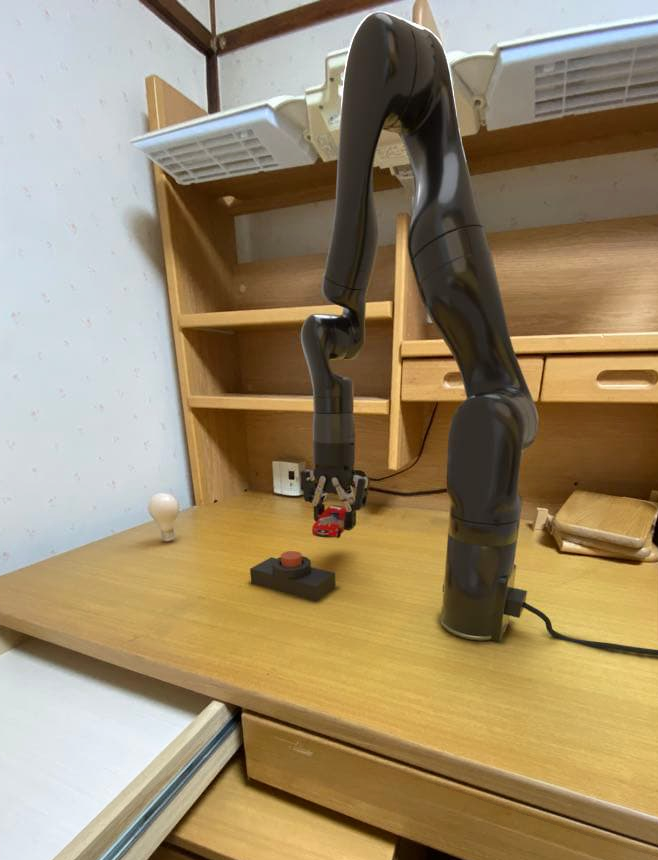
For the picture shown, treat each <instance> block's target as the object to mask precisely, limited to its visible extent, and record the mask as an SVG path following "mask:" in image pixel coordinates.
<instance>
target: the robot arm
mask: <svg viewBox="0 0 658 860" xmlns="http://www.w3.org/2000/svg"><path fill="white" fill-rule="evenodd" d="M343 74H344V75H343V81H342V82H343V83H342V91H341V92H342V93H341V104H340V119H339V137H338V149H337V167H336V187H335V201H334V213H333V221H332V228H331V233H330V234H331V235H330V241H329V246H328V249H327V254H326V260H325V265H324V271H323V276H322V282H321V293H322V295H323V297H324V298H325V299H326V300H327V301H328V302H329V303H332V304H334V305H336V306H339V307H341V308H343V309H342V313H341V314H331V313H328V314H326V313H312V314H310V315H308V316H307V317H306V319H305V320H304V321H303V324H302V326H301V329H300V343H301V348H302V351H303V356H304V358H305V361H306V364H307V369H308V373H309V376H310V377H309V378H310V382H311V386H312V400H313V401H312V402H313V417H312V450H313V452H312V453H313V454H312V455H313V460H312V461H313V464H314V468H313V469H311V468H307V469H305V470H302V471H300V481H301V487H302V493H303V500H304V501H305V502H307V503H308V502H309V503H310V504H312V506H313V520H314V522H316V521H317V520H318V519H319V518H320V517H318V515H320V516H321V514H322V513H323V512H324V511H325V510H326V507H325V506H326V505H325V504H324V503H325V500H326V498H327V496H328V494H333V495H337V496H338V498H339V500H340V502H342V504H343V506H345V509H346V512H345V530H344V531H351V530H353V529H354V527H356V525H357V511H360V510H361V509H363V508H365V507H367V502H368V495H369V489H370V483H371V478H370V476H368V475H365V476H361V475H359V474H356V471H355V463H356V462H355V460H356V459H355V458H356V457H355V456H356V454H355V452H356V424H355V414H354V400H355V399H354V395H355V394H354V391H355V390H354V382H353V380H352V379H351V378H350V377H348V376H345V375H341V374H337V373H335V372H333V370H332V368H331V366H330V361H341V362H342V361H345V362H346V361H352V360H355V359H356V358H357V357H358V356H359V355H360V354H361V353H362V351H363V348H364V346H365V341H366V308H367V307H366V305H367V294H368V290H369V286H370V282H371V278H372V275H373V271H374V267H375V263H376V260H377V254H378V250H379V249H378V248H379V228H378V220H377V213H376V206H375V198H374V181H373V179H374V177H373V176H374V166H375V165H374V163H375V159H376V155H377V154H376V153H377V150H378V149H377V148H378V145H379V142H380V139H381V134H382V133H383V131H385V132H390V133H395V134H397V135H398V136H399V138H400V139H401V141H402V144H403V145H404V146H403V147H404V148H405V151H406V154H407V157H408V160H409V164H410V168H411V172H412V175H413V180H414V182H413V183H414V196H413V201H412V202H413V203H412V208H411V213H410V218H409V224H408V232H407V253H408V258H409V262H410V266H411V269H412V273H413V276H414V280H415V284H416V286H417V290H418V293H419V296H420V299H421V302H422V304H423V307H424V309H425V311H426V312H427V315H428V317H429V318H430V321H431V322H432V324H433V326H434V327H435V329H436V330H437V332H438V334H439V335H440V337H441V338H442V340H443V342H444V343H445V345H446V346H447V348H448V350H449V351H450V353H451V355H452V357H453V359H454V360H455V362H456V365H457V367H458V370H459V373H460V376H461V379H462V384H463V388H464V392H465V396H466V399H465V400H463V401H462V402H461V403H460V404H459V405H458V406H457V408H456V409H455V411H454V414H453V415H452V418H451V421H450V426H449V431H448V440H447V455H446V456H447V457H446V491H447V496H448V498H449V516H448V529H447V541H446V543H447V544H446V552H445V553H446V554H445V566H444V567H445V568H444V579H443V584H442V590H441V591H442V605H441V613H440V623H441V625H442V627H443V628H444V629H445V630H446V631H447V632H449V633H450V634H451V635H454V636H457V637H460V638H462V639H466V640H472V641H494V642H500V641H501V639H502V637H503V635H504V634H505V633H506V630H507V627H508V624H509V622H510V617H513V618H518V619H520V618H521V615H522V613H523V611H524V609H525V610H527V611H529V612H530V613H532V614H533V615H535V616H537V617H539V618H540V619H541V620H542V621H543V622H544V624H545V628H546V631H547V632H548V634H550V635H551V636H552V637H554V638H555V639H558V640H562V641H566V642H571V643H575V644H578V645H582V646H587V647H591V648H598V649H609V650H615V651H620V652H627V653H635V654H641V655H648V656H658V649H654V648H644V647H637V646H630V645H625V644H624V645H623V644H617V643H611V642H602V641H593V640H583V639H577V638H573V637H569V636H566V635H563V634H561V633H559V632H558V631H556V630H554V629H553V625H552V622H551V620H550V618H549V617H548V616H547V614H545V613H544V612H542V611H541V610H539V609H538V608H536V607H534V606H533V605H530V604H529V603H527V602H526V601H527V595H528V590H524V589H520V588H515V580H516V574H517V564H515V559H516V553H517V547H518V545H517V544H518V539H519V530H520V524H521V516H522V511H523V497H522V496H521V494H520V493H519V478H520V471H521V462H522V461H521V460H522V455H523V454H525V453H526V452H527V451H528V450H529V449H530V447H531V446H532V445H533V443H534V442H535V440H536V438H537V435H538V430H539V425H540V419H539V412H538V409H537V407H536V403H535V401H534V399H533V396H532V394H531V392H530V389H529V385H528V383H527V381H526V379H525V376H524V374H523V371H522V368H521V366H520V363H519V360H518V358H517V355H516V352H515V349H514V345H513V343H512V338H511V334H510V330H509V325H508V319H507V315H506V311H505V305H504V301H503V297H502V293H501V289H500V284H499V281H498V277H497V273H496V272H497V271H496V268H495V263H494V259H493V255H492V250H491V248H490V244H489V240H488V236H487V232H486V228H485V225H484V222H483V219H482V216H481V212H480V210H479V207H478V203H477V198H476V194H475V190H474V186H473V182H472V178H471V174H470V171H469V166H468V163H467V159H466V155H465V150H464V145H463V142H462V136H461V131H460V125H459V120H458V114H457V106H456V99H455V93H454V86H453V81H452V75H451V69H450V66H449V60H448V57H447V54H446V51H445V49H444V46H443V44H442V41H441V40H440V39H439V37H437V36H436V35H435V34H434V33H433V32H432V31H431V30H430V29H429V28H426V27H424V26H422V25H419V24H417V23H415V22H411V21H409V20H407V19H404V18H402V17H399V16H397V15H394V14H391V13H389V12H385V11H374V12H372V13H369V14H368V15H367V16H366V17H364V19H362V21H361V22H360V24H359V25H358V26H357V28H356V30H355V32H354V34H353V37H352V39H351V41H350V45H349V49H348V53H347V56H346V60H345V67H344V73H343ZM315 480H316V482H317V483H318V484H317V486H316V485H315V484H316V483H315ZM353 483H354V487H355V488H356V492H355V491H354V488H353V486H352V485H353Z"/></svg>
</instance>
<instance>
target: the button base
mask: <svg viewBox="0 0 658 860" xmlns="http://www.w3.org/2000/svg"><path fill="white" fill-rule="evenodd" d="M249 573H250V583H251V584H253V585H256V586H260V587H265V588H267V589H271V590H273V591H278V592H280V593H284V594H289V595H291V596H295V597H298V598H301V599H305V600H308V601H312V602H314V603H316V602H319V601H320V600H321V599H323V597H325V596H326V595H328V594H329V593H330V592H331V591H333V590H334V589H336V573H335V572H333V571H329V570H325V569H321V568H316V567H313V566H312V561H311V559H309V558H308V557H307V556H303V555H302V565H300V566H297V567H283V566H282V565H281V556H278V557H277V558H276V557H269V558H267V559H265V560H263V561H262V562H260V563H258V564H256V565H254V566H252V567H251V568H249Z"/></svg>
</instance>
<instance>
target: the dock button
mask: <svg viewBox="0 0 658 860" xmlns="http://www.w3.org/2000/svg"><path fill="white" fill-rule="evenodd" d="M302 556H303V555H302V553H301V552H300V551H296V550H295V551H294V550H289V551H288V550H287V551H285V552H282V553H281V554H280V557H281V565H282V566H283V567H297V566H300V565H302Z"/></svg>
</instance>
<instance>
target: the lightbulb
mask: <svg viewBox="0 0 658 860" xmlns="http://www.w3.org/2000/svg"><path fill="white" fill-rule="evenodd" d="M147 511H148V514H149V515H150V517H151V519H153V520H154V521H155V523H156V524H157V526H158V528H159V529H160V534H161V540H162V541H164V542H167V543H171V542H172V541H174V540H175V539H176V537H175V529H174V527H175V522H176V519H177V517H178V515H179V512H180V503H179V501H178V499H177V498H176V497H175V496H174V495H172V494H171V493H168V492H159V493H156V494H154V495H153V496H152V497H151V498H150V499H149V501H148V504H147Z"/></svg>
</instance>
